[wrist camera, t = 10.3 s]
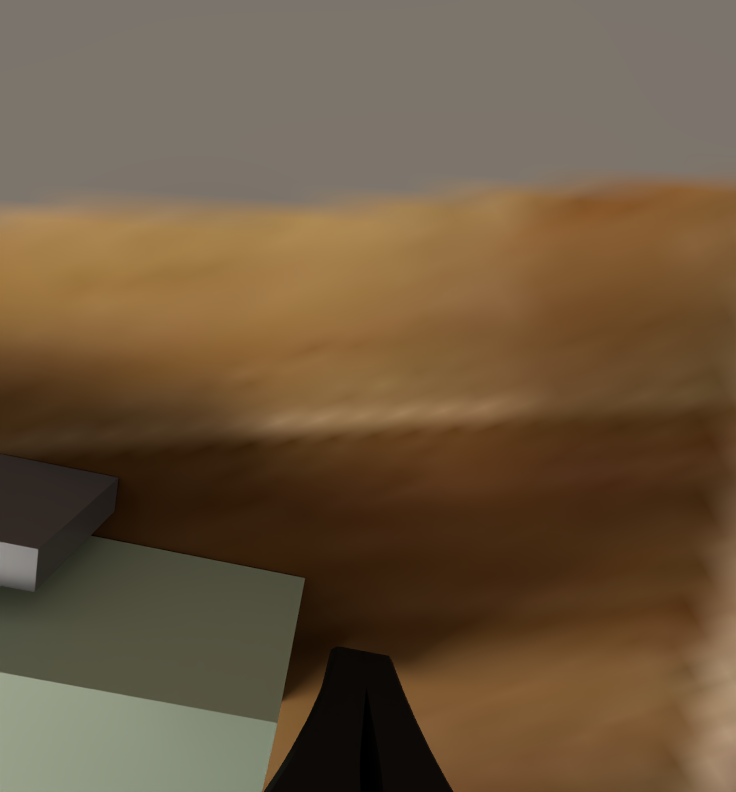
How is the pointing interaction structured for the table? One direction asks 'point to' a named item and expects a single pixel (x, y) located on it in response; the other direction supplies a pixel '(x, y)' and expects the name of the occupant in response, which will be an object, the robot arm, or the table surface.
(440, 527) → the table surface
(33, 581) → the dark grey piece
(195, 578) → the rectangular block
